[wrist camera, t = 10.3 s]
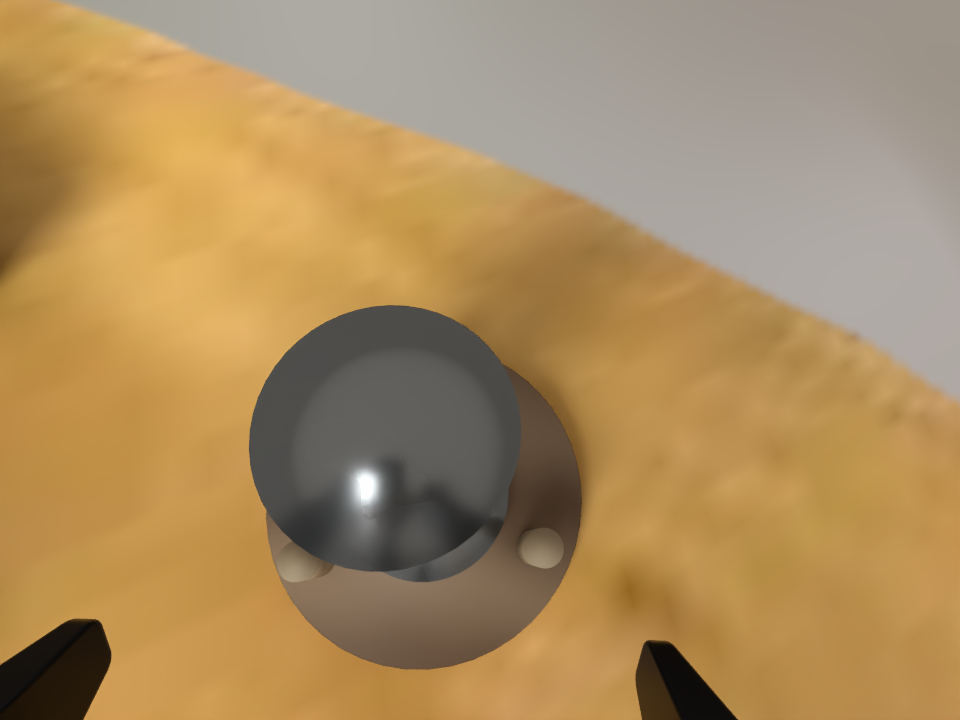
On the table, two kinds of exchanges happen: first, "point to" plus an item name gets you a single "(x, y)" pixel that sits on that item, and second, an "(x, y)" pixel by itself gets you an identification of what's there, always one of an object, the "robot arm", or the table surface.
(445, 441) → the grey metal post
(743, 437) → the table surface
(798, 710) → the table surface
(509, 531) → the seat plate
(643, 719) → the robot arm
